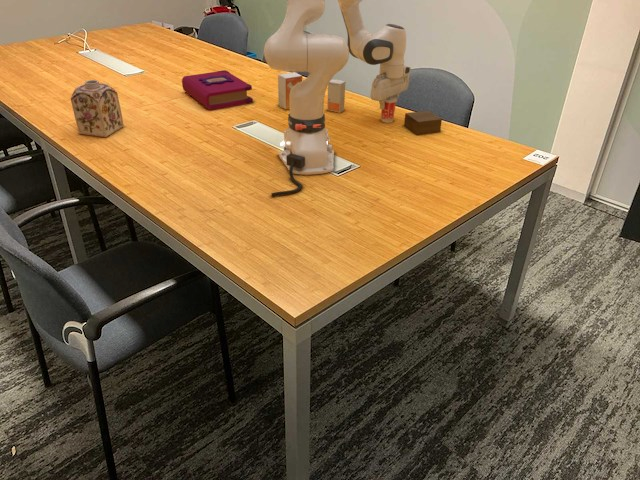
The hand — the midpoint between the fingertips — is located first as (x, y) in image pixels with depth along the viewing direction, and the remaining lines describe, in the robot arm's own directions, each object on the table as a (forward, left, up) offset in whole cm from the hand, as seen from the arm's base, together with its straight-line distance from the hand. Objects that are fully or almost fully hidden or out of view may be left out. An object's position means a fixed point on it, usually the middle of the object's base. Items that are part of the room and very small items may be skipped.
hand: (388, 106), depth 204 cm
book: (+36, +66, -6) cm, 75 cm away
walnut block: (-10, -11, -6) cm, 16 cm away
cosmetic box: (+14, +18, -6) cm, 24 cm away
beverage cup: (0, 0, -6) cm, 6 cm away
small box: (+21, +36, -6) cm, 42 cm away
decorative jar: (+2, +108, -6) cm, 108 cm away
